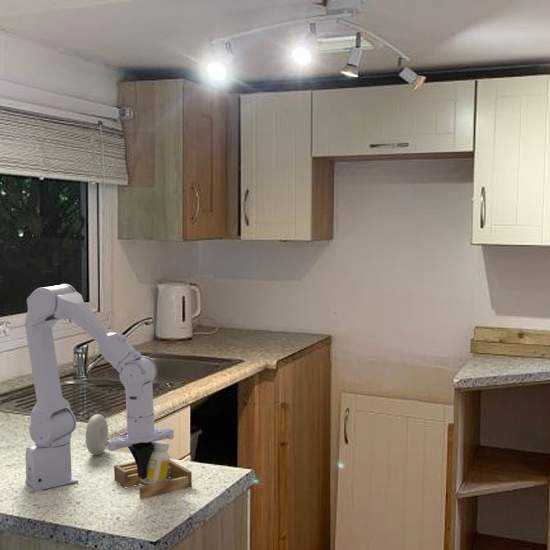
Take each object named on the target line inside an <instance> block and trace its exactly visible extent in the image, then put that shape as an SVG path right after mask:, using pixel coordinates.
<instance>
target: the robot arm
mask: <svg viewBox="0 0 550 550" xmlns="http://www.w3.org/2000/svg"><path fill="white" fill-rule="evenodd" d="M26 304H27V312H26V317H25V321H24V327H25V328H24V329H25V334H26V340H27V346H28V352H29V360H30V366H31V373H32V378H33V384H34V392H35V398H36V403H35V405H34V407H33V408H32V410H31V412H30V414H29V415H30V425H29V428H28V429H29V430H28V431H29V437H30V439H31V441H32V442H33V443H34V444H33V445H31V446H28V447H26V450H25V479H24V480H25V482H26V483H27V484H28V485H29V486H30V487H32V488H33V489H34V490H35V491H42V490H47V489H52V488H56V487H61V486H65V485H69V484H73V483H78V482H79V479H78V478H77V477H75V476H74V475H73V473H72V448H71V439H72V433H74V431H75V430H76V427H77V419H76V416H75V414H74V413H73V411H72V409H71V402H69V401H68V400H67V399H66V398H65V397H63V392H62V386H61V378H60V375H59V374H60V373H59V367H58V359H57V355H56V347H55V341H54V336H53V327H54V326H55V325H56V324H57V323H58V321H59V320H60V319H64V320H71V321H73V322H74V323H75V324H76V325H78V327H79V328H80V329H82V330H83V331H84V332H85V333H86V334H87V335H89V337H91V338H92V339H93V340H94V341H95V342H96V343H97V344H98V345H97V346H98V347H97V348H98V353H99V354H100V355H102V358H104V359H105V360H106V361H107V362H108V363H109V364H110V365H111V366H112V367H113V368H114V369H115V370H116V371H117V372H118V373H119V374H118V376H119V381H120V382H121V384H122V385H123V387H124V394H125V408H126V409H125V410H126V431H127V434H125V435H122V436H118V437H115V438H112V439H108V440H107V450H108V451H110V452H114V451H115V452H116V451H117V450H120V449H124V448H128V450H129V452H130V453H131V455H132V457H133V460H134V461H135V462H136V464H137V473H138V477H140V478H141V479H144V478H147V465H148V462H149V459H150V457H151V454H152V452H153V451H154V445H153V444H152V442H154V441H163V440H172V439H175V434H174V432H175V431H174V430H175V429H173V428H170V427H168V428H163V429H162V428H161V429H155V415H154V414H155V412H154V411H155V410H154V392H153V391H154V389H153V380H154V379H155V378H156V376H157V370H158V369H157V365H156V364H155V362H154V361H153V359H152V358H151V357H150V356H146V355H142V353H141V352H140V351H137V350H136V349H135V348H134V347H133V346H132V345H131V344H130V343H129V341H127V337H126V336H125V334H120V333H119V332H111V331H110V330H109V329H108V328H107V327H106V326H105V325H104V323H102V321H101V320H100V319H99V318H98V316H97V315H96V314H95V313H94V312H93V311H92V309H91V308H90V307H89V306H88V305H87V303H85V301H84V299H83V296H82V294H81V293H79V292H77V291H76V289H75V287H74V286H72V285H70V284H68V283H61V284H59V285H53V286H45V287H37V288H36V289H34V290H33V291H32V293H30V295H29V296H28V297H27V298H26Z"/></svg>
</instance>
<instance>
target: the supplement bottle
mask: <svg viewBox="0 0 550 550" xmlns="http://www.w3.org/2000/svg"><path fill="white" fill-rule="evenodd" d="M152 444H153V445H154V451H153V452H152V454H151V457H150V459H149V462H148V465H147V478H144V479H140V485H139V487H142V486H146V485H150V484H155V483H159V482H163V481H167V479H166V475H167V470H168V465H169V460H171V456H170V454H169V453H168V450H169V448H170V443H169V442H166V441H163V440H159V441H154V442H152Z"/></svg>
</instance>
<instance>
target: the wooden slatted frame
mask: <svg viewBox="0 0 550 550" xmlns="http://www.w3.org/2000/svg"><path fill="white" fill-rule="evenodd" d="M113 471H114V474H113V475H114V479H113V480H114V481H115V482H116V481H117V482H118V483H117V482H116V483H117V484H119V483H120V484H121V485H120V484H119V485H120V486H122V487H123V486H124V487H129V488H131V487H130V486H133V487H135V486H134V485H137V486H139V487H138V490H139V491H138V492H139V493H138V495H139V499H140V500H144V498H145V499H148V498H153V497H156V496H161V495H165V494H168V493H169V494H170V493H174V492H177V491H181V490H184V489H190V488H192V487H193V484H192V483H193V480H192V477H193V476H192V471H191V470H189V469H187V468H186V467H184V466H183V465H180V464H179V463H177V462H175V461H173V460H171V459H170V460H169V465H168V470H167V475H166V478H167V479H168V480H166V481H163V482H159V483H155V484H150V485H146V486H142V487H141V486H140V485H139V484H140V479H141V478H140V477H138V473H137V464H136V462H135V460H134V461H129V462H126V463H125V462H124V463H120V464H115V465H113ZM169 477H172V479H170V478H169ZM173 478H174V479H173ZM124 487H123V488H124Z"/></svg>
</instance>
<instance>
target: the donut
mask: <svg viewBox="0 0 550 550" xmlns="http://www.w3.org/2000/svg"><path fill="white" fill-rule="evenodd" d="M107 440H109V427H108V423H107V419H106V418H105V417H104V416H103V415H101V414H100V413H98V414H94V415H92V416H91V417H90V418H89V420H88V422H87V425H86V429H85V445H86V448H87V450H88V452H89V453H90V454H92V455H94V456H99V455H101V454H102V453H103V452H104V451H105V450H106V447H107V446H108V444H107Z"/></svg>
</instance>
